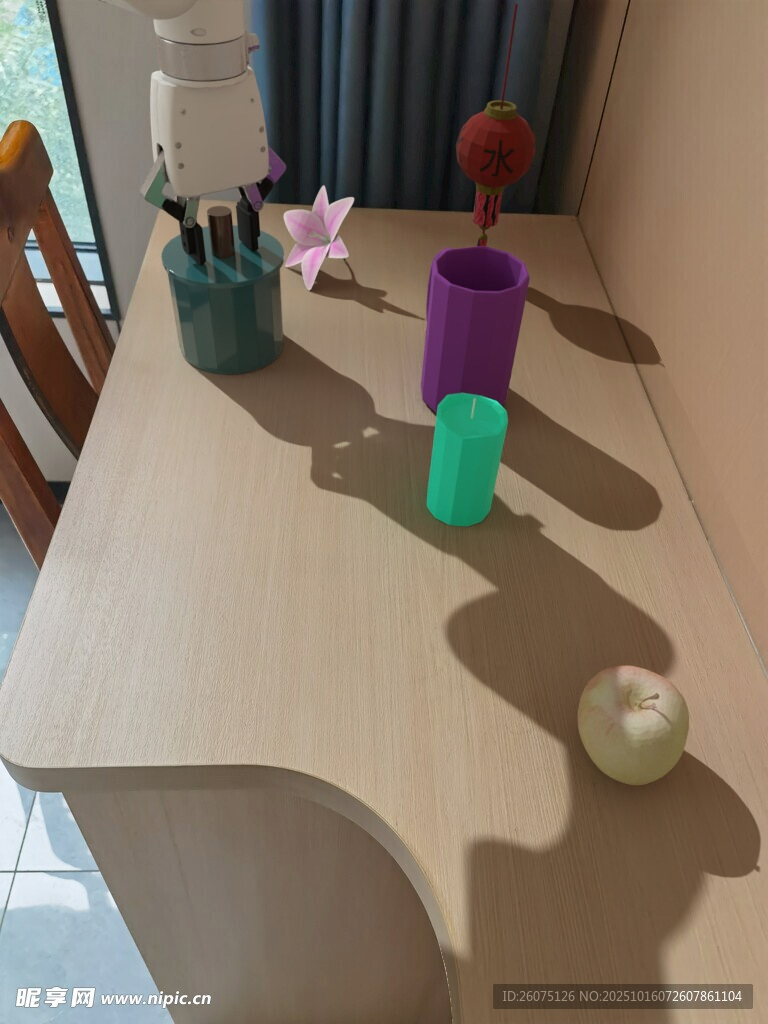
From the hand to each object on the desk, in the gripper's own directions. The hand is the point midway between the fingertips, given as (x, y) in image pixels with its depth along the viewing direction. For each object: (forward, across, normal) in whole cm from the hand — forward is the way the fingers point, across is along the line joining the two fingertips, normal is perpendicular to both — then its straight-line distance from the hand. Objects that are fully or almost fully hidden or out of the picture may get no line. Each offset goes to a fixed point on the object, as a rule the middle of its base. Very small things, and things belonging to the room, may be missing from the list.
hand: (222, 250), depth 82 cm
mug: (+12, -17, +18) cm, 28 cm away
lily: (+12, -17, -10) cm, 23 cm away
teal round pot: (+11, 0, 0) cm, 11 cm away
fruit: (+12, 0, +59) cm, 60 cm away
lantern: (+12, -36, 0) cm, 38 cm away
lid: (+1, 0, 0) cm, 1 cm away
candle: (+12, -6, +34) cm, 36 cm away
